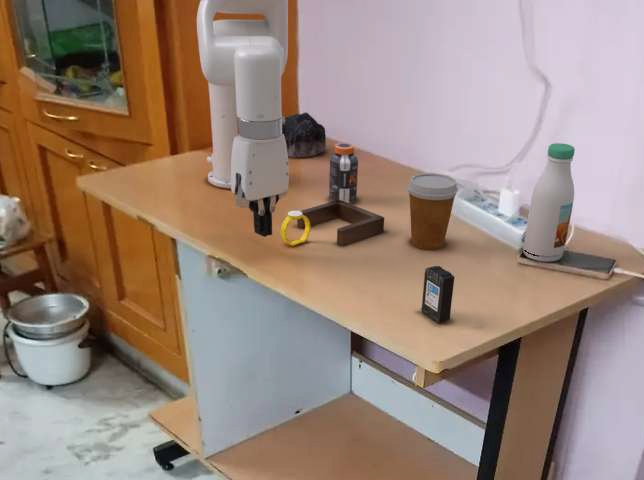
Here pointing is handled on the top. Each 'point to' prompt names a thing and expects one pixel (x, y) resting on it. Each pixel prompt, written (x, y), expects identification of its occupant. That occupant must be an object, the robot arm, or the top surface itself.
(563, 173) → the milk bottle
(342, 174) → the pill bottle
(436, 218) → the disposable coffee cup
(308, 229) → the watch
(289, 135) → the crystal cluster
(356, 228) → the bay
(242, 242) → the top surface
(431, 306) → the ink cartridge
